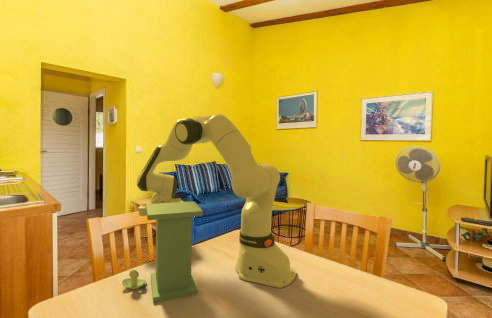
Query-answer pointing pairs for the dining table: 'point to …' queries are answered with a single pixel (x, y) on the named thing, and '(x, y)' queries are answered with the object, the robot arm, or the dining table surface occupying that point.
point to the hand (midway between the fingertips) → (164, 213)
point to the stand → (173, 249)
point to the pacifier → (133, 281)
